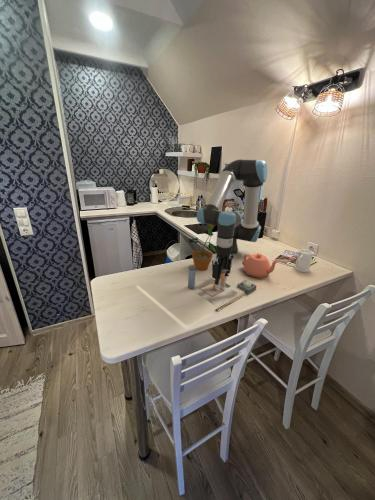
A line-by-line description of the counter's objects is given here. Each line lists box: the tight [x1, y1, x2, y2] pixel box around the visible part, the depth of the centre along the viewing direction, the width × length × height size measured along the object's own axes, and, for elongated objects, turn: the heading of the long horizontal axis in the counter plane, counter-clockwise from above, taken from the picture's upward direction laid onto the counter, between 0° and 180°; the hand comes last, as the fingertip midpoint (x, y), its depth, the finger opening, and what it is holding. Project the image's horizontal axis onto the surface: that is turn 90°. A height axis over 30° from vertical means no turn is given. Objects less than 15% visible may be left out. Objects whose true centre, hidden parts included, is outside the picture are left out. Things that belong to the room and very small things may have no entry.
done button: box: [242, 280, 253, 288], centre depth 116 cm, size 4×4×3 cm
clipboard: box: [186, 276, 245, 312], centre depth 112 cm, size 24×20×1 cm
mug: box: [294, 248, 314, 273], centre depth 137 cm, size 12×8×12 cm
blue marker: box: [187, 264, 197, 290], centre depth 112 cm, size 4×4×12 cm
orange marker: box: [213, 267, 226, 289], centre depth 111 cm, size 4×4×12 cm
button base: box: [236, 279, 257, 295], centre depth 116 cm, size 7×7×2 cm
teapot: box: [242, 252, 280, 278], centre depth 130 cm, size 22×16×12 cm
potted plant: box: [188, 224, 217, 272], centre depth 130 cm, size 18×19×30 cm
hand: (219, 287), depth 112 cm, fingers closed on orange marker, 3 cm apart
